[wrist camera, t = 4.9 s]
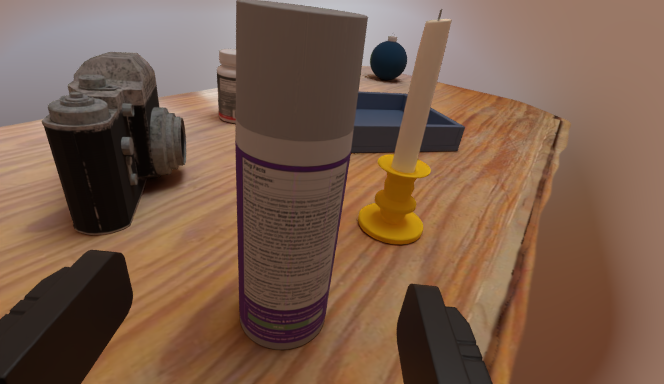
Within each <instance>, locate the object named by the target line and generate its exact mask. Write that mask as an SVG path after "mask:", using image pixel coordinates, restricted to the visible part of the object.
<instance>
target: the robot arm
mask: <svg viewBox="0 0 664 384" xmlns="http://www.w3.org/2000/svg"><path fill="white" fill-rule="evenodd" d="M132 300H133V291H132V287H131V283H130V278H129V274H128V270H127V265H126V261H125V257H124V255H123V254H122V253H118V252H109V251H99V250H89V251H87V252H86V253H84V254H83V255H82V256H81V257H80V258H79V259H78V260H77V261H76V262H75V263H74V264H73V265H72V266H71V267H64V268H62V269H60V270H59V271H57V272H55V273H53V274H52V275H50V276H48V277H47V278H45V279H43V280H42V281H41V282H40V283H38V284H37V285H36V286H35V287H34V288H33V289H32V290H31V291H30V292H29V293H28V294H27V295H26V296H25V298H24V300H20V301H19V302H18V303H17V304H16V305H15V306H14V307H13V308H12V309H11V310H10V313H9V314H6V315H5V316H4V317H2V318H1V319H0V384H81V383H82V381H83V380H84V378H85V377H86V375H87V374H88V372H89V371H90V370H91V368H92V367H93V365H94V364H95V362H96V361H97V359H98V358H99V356H100V355H101V353H102V352H103V350H104V349H105V347H106V346H107V344H108V343H109V341H110V340H111V338H112V337H113V335H114V334H115V332H116V331H117V329H118V328H119V326H120V325H121V323H122V322H123V321H124V319H125V318H126V316H127V314H128V312H129V310H130V308H131V305H132ZM397 345H398V351H399V357H400V363H401V369H402V375H403V382H404V384H493V383H492V381H491V378H490V376H489V373H488V371H487V368H486V366H485V363H484V361H482V355H481V353H480V350H479V348H478V346H477V345H476V340H475V337H474V335H473V332H472V330H471V327H470V325H469V323H468V322H467V321H466V319H465V318H464V317H463V316H462V315H461V313H460V312H459V311H458V310H457V308H456V307H446V306H445V304H444V301H443V298H442V295H441V292H440V290H439V288H438V287H437V286H429V285H419V284H410V285H409V286H408V289H407V292H406V295H405V299H404V302H403V305H402V308H401V312H400V315H399V318H398V323H397Z"/></svg>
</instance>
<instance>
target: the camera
mask: <svg viewBox="0 0 664 384" xmlns="http://www.w3.org/2000/svg"><path fill="white" fill-rule="evenodd" d="M68 89H69V96H62V97H61V98H60V100H56V101H53V102H52V103H50V104H49V105H48V110H49V113H50V114H49V115H48V116H47V117H46V118H44V119H43V120H42V124H43V126H44V128H45V131H46V135H47V138H48V141H49V144H50V148H51V151H52V154H53V158H54V161H55V164H56V168H57V171H58V174H59V177H60V181H61V184H62V187H63V191H64V194H65V197H66V201H67V204H68V207H69V210H70V214H71V217H72V220H73V226H74V229H75V230H77V231H78V232H81V233H84V234H88V235H101V234H108V233H113V232H116V231H119V230H122V229H124V228H126V227H128V226H130V224H131V222H132V219H133V216H134V213H135V211H136V208H137V205H138V203H139V200H140V198H141V195H142V192H143V189H144V186H145V183H146V180H147V178H156V177H160V176H161V174H171V172H172V169H178V166H183V165H185V163H186V136H185V127H184V121H183V118H180V117H176V116H175V114H174V113H169V112H168V110H167V108H159V101H158V94H157V87H156V79H155V73H154V70H153V69H152V67H151V66H150V65H149V63H148V62H147V61H146V60H145V59H143V58H142V57H141V56H140V55H139V54H138V53H121V52H108V53H105V54H102V55H99V56H96V57H93V58H90V59H89V60H87V61H85V62H84V63H83V64H82V65H81V67H80V68H79V69H78V70H77V72H76V73H75V74H74V81H73V82H71V83H70V84H68Z"/></svg>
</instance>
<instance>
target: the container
mask: <svg viewBox="0 0 664 384" xmlns="http://www.w3.org/2000/svg"><path fill="white" fill-rule="evenodd" d="M236 3H237V5H236V140H235V143H236V185H237V227H238V269H239V311H240V322H241V326H242V328H243V330H244V332H245V333H246V334H247V336H248V337H249V338H250V339H252V340H253V341H254V342H256V343H257V344H259V345H261V346H264V347H267V348H271V349H292V348H296V347H299V346H301V345H304V344H306V343H307V342H309V341H310V340H312V339H313V338H314V337H315V336H316V335H317V334H318V333H319V331H320V330H321V328H322V326H323V323H324V319H325V314H326V308H327V302H328V295H329V289H330V282H331V276H332V270H333V263H334V257H335V250H336V244H337V238H338V231H339V225H340V219H341V212H342V206H343V199H344V193H345V187H346V180H347V174H348V167H349V161H350V155H351V146H352V138H353V130H354V122H355V114H356V106H357V99H358V91H359V83H360V75H361V67H362V59H363V50H364V43H365V35H366V28H367V19H368V17H367V16H365V15H361V14H356V13H350V12H345V11H338V10H332V9H325V8H318V7H311V6H303V5H295V4H287V3H278V2H269V1H259V0H237V1H236Z"/></svg>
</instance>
